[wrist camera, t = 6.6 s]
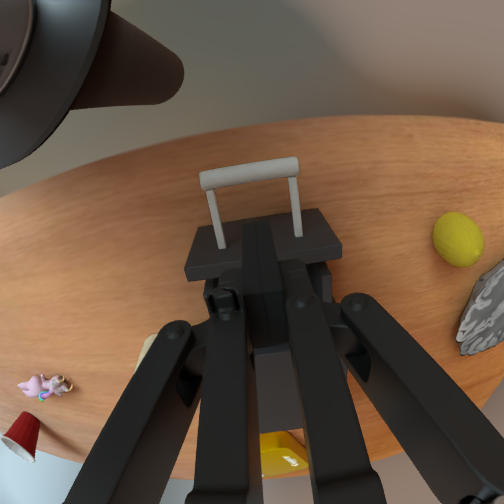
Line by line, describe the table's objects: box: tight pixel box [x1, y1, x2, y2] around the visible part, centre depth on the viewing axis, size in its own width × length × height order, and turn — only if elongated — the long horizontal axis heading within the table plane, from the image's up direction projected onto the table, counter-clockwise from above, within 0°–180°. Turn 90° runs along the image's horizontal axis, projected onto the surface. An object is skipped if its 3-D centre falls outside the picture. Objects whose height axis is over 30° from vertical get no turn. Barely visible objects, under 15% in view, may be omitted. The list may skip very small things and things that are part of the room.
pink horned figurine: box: [18, 374, 74, 402], centre depth 40 cm, size 6×6×15 cm
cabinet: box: [253, 295, 348, 434], centre depth 32 cm, size 15×13×10 cm
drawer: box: [184, 156, 342, 349], centre depth 26 cm, size 20×12×8 cm, turn 9°
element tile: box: [260, 431, 309, 478], centre depth 50 cm, size 15×15×5 cm
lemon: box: [432, 212, 484, 268], centre depth 26 cm, size 6×6×8 cm
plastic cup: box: [0, 411, 40, 463], centre depth 46 cm, size 11×11×12 cm
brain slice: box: [456, 259, 504, 356], centre depth 35 cm, size 20×17×3 cm
